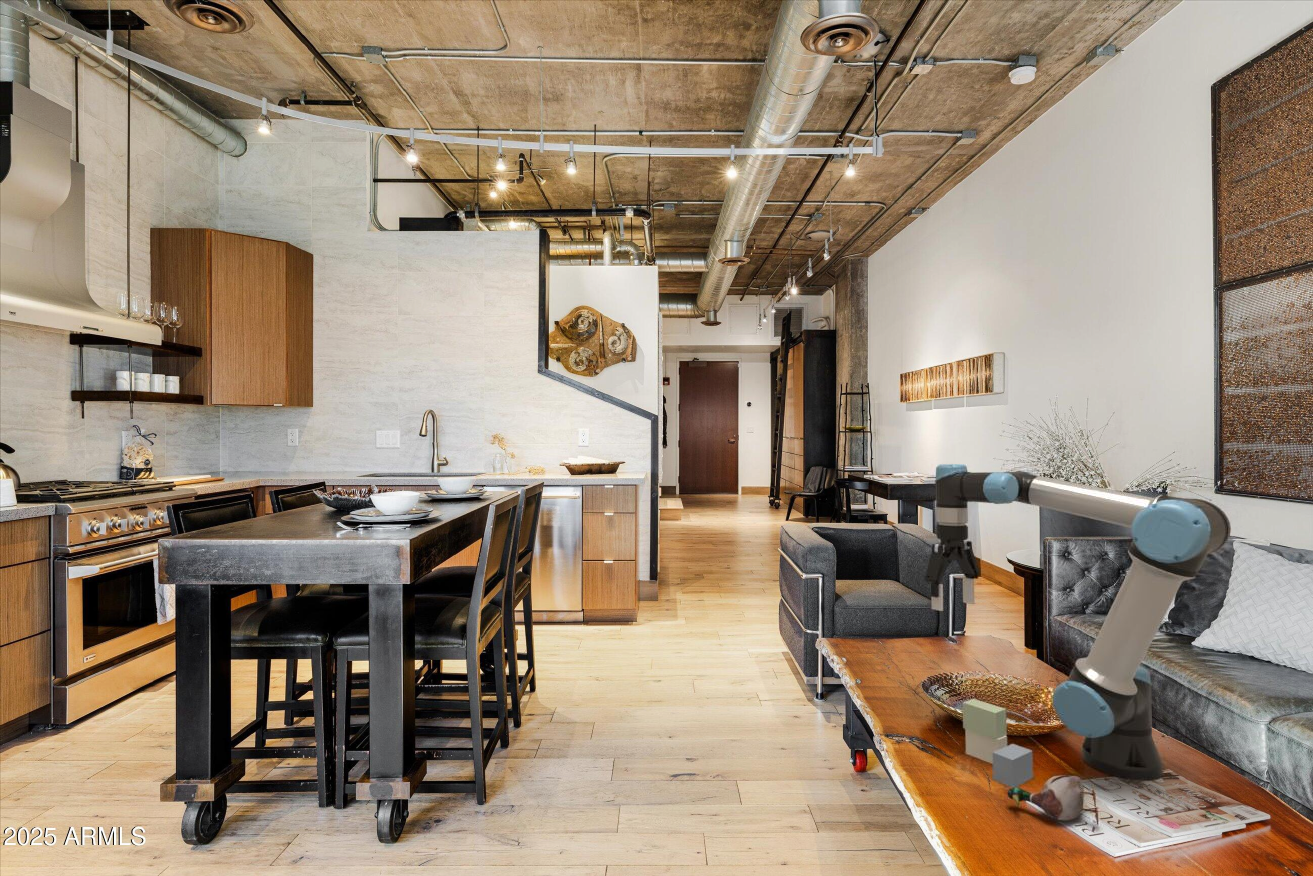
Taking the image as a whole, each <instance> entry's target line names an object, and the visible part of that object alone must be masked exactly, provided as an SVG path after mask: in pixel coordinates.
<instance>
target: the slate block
mask: <svg viewBox="0 0 1313 876" xmlns="http://www.w3.org/2000/svg"><path fill="white" fill-rule="evenodd" d="M1033 754H1034V753H1033V750H1032V749H1028V748H1026V747H1023V746H1020V745H1017V744H1015V743H1011V744H1009V745H1008V744H1007V746H1006V747H1004V748H1002V749H999V750H997V751H995V752H993V764H992V780H993V781H995V782H997V783H999V784H1002V785H1005V786H1006V787H1009V788H1010V789H1011V788H1015V787H1018V786H1021V785H1022V784H1025V783H1026V782H1028V781H1030V780H1032V779H1034V764H1033V763H1034V762H1033V761H1034V760H1033V757H1034V756H1033Z"/></svg>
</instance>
